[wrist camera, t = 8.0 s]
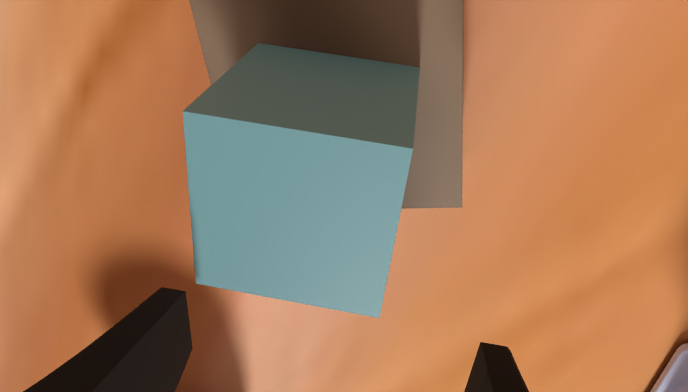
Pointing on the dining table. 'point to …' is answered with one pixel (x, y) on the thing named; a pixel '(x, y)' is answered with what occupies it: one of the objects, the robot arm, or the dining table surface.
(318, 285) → the teal block
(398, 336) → the dining table surface
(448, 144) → the brown block
